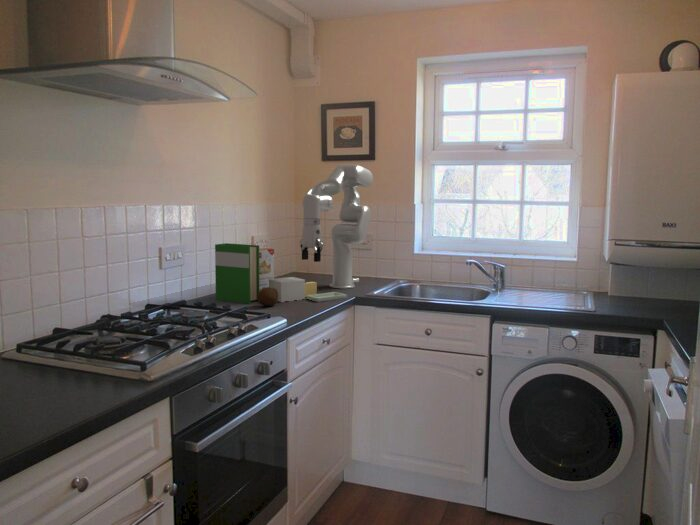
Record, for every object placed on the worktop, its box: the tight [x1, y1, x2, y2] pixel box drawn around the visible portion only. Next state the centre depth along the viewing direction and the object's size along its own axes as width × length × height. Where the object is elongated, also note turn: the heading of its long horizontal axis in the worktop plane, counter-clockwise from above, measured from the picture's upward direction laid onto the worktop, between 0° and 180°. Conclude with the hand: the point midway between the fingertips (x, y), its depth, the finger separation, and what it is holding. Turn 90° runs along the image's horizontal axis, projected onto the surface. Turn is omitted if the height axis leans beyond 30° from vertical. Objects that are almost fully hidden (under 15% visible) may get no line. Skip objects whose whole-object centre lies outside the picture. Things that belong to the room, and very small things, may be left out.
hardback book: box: [214, 242, 260, 304], centre depth 245 cm, size 18×7×24 cm, turn 64°
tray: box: [306, 291, 348, 303], centre depth 252 cm, size 16×8×2 cm, turn 128°
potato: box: [257, 287, 278, 307], centre depth 233 cm, size 7×10×8 cm
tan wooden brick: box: [305, 281, 318, 297], centre depth 255 cm, size 12×3×6 cm, turn 128°
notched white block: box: [269, 276, 307, 303], centre depth 250 cm, size 13×11×9 cm
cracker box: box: [259, 247, 275, 292], centre depth 260 cm, size 14×6×21 cm, turn 143°
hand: (311, 260), depth 256 cm, fingers open, 9 cm apart
